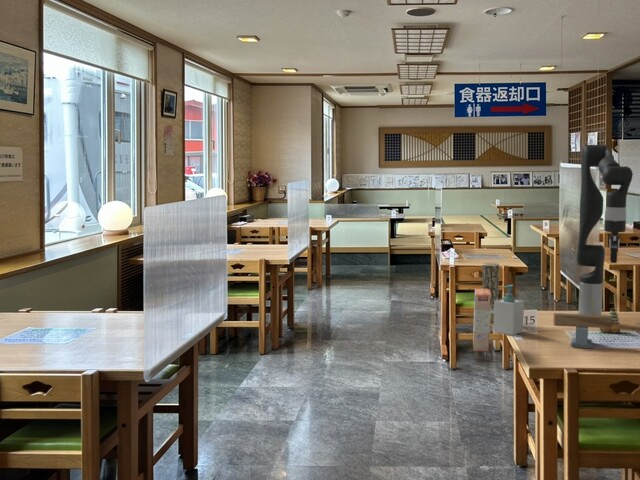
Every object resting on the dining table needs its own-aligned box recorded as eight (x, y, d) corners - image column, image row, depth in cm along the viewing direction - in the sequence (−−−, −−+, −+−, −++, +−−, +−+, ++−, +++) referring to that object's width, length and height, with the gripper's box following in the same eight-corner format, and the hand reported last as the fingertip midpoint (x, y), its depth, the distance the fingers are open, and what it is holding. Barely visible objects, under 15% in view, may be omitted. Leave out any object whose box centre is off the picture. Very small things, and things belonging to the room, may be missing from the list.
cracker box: (490, 352, 254) (491, 294, 251) (472, 351, 255) (474, 294, 253) (489, 343, 267) (490, 288, 265) (473, 342, 268) (474, 287, 266)
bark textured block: (497, 323, 302) (499, 264, 299) (481, 322, 303) (483, 264, 301) (497, 319, 309) (498, 262, 306) (481, 319, 310) (482, 262, 307)
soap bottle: (492, 332, 285) (494, 285, 283) (503, 328, 292) (505, 282, 290) (512, 335, 279) (514, 287, 278) (523, 332, 286) (524, 285, 284)
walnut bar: (553, 323, 269) (553, 313, 269) (609, 326, 265) (610, 315, 265) (554, 325, 266) (555, 315, 265) (611, 328, 261) (612, 317, 261)
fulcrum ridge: (572, 340, 272) (572, 322, 271) (591, 342, 269) (592, 323, 269) (570, 346, 263) (571, 327, 262) (591, 348, 260) (591, 329, 259)
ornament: (599, 333, 285) (600, 308, 284) (598, 329, 290) (599, 305, 289) (621, 334, 282) (622, 309, 281) (619, 331, 288) (620, 306, 287)
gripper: (604, 217, 279) (603, 258, 280) (604, 220, 265) (602, 263, 267) (625, 218, 276) (623, 259, 277) (626, 220, 263) (624, 264, 264)
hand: (613, 261), depth 272 cm, fingers open, 8 cm apart
